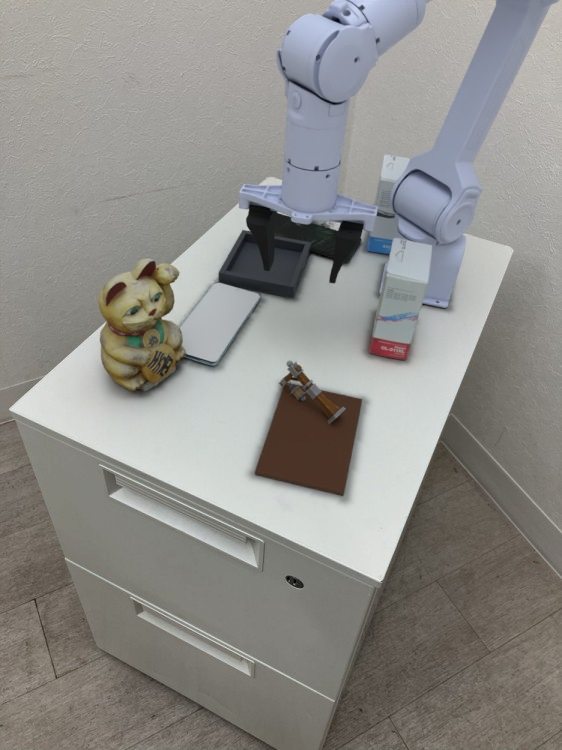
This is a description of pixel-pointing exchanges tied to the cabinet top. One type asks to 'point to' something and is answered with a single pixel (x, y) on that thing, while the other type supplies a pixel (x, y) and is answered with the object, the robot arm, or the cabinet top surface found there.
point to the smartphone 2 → (309, 235)
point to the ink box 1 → (386, 205)
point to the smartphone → (216, 321)
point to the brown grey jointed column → (309, 390)
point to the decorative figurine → (140, 326)
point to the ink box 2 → (401, 298)
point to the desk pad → (310, 442)
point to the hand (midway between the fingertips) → (300, 272)
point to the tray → (250, 274)
